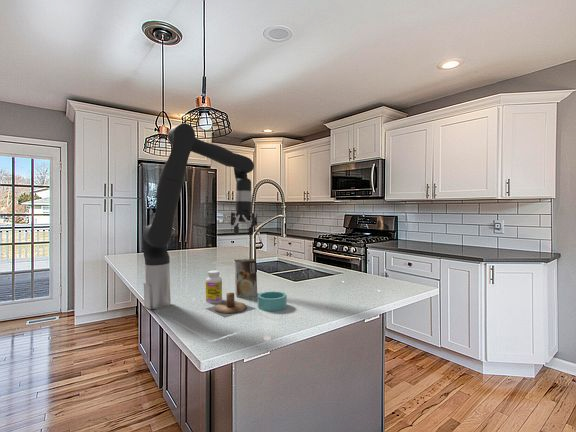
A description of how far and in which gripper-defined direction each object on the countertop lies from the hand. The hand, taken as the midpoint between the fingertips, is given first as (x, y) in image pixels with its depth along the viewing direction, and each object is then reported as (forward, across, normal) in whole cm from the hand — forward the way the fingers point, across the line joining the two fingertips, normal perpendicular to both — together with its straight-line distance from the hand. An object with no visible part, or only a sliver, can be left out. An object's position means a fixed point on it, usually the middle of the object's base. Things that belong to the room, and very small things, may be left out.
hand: (243, 234), depth 156 cm
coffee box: (+27, +7, -7) cm, 29 cm away
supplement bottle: (+27, +1, -21) cm, 34 cm away
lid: (+26, +15, -26) cm, 40 cm away
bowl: (+26, +27, -16) cm, 41 cm away
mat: (+27, +15, -26) cm, 40 cm away
